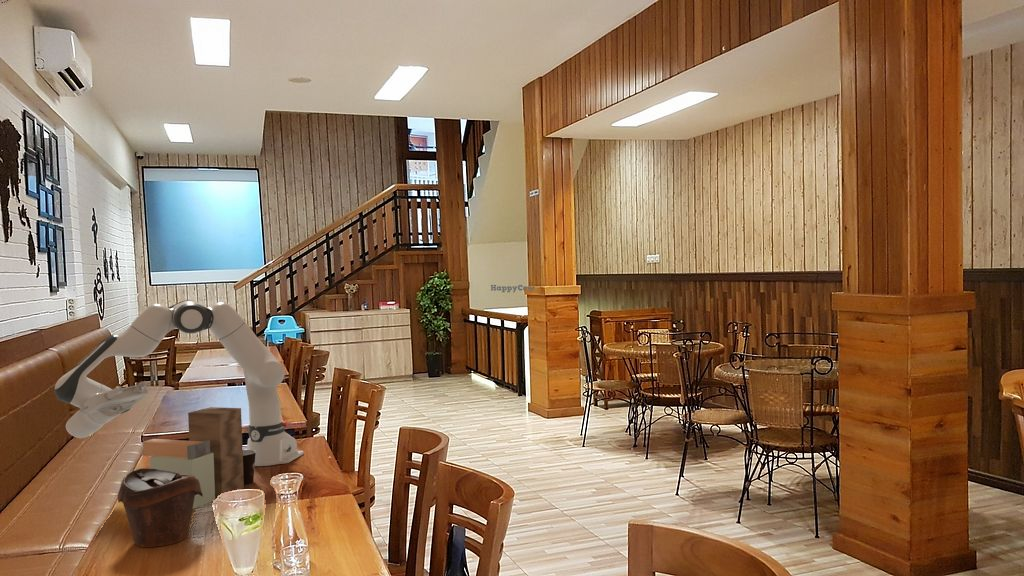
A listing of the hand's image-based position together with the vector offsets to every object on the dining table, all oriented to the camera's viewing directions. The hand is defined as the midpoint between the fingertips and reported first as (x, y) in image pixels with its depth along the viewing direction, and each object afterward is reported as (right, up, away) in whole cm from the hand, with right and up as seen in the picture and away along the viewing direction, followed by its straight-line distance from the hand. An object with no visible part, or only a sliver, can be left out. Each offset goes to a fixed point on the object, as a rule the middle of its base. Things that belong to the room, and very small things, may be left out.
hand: (132, 385), depth 229 cm
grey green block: (+20, -34, -9) cm, 41 cm away
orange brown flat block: (+17, -20, -9) cm, 28 cm away
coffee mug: (+31, -34, +12) cm, 48 cm away
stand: (+27, -34, +1) cm, 43 cm away
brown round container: (+29, -35, -41) cm, 61 cm away
